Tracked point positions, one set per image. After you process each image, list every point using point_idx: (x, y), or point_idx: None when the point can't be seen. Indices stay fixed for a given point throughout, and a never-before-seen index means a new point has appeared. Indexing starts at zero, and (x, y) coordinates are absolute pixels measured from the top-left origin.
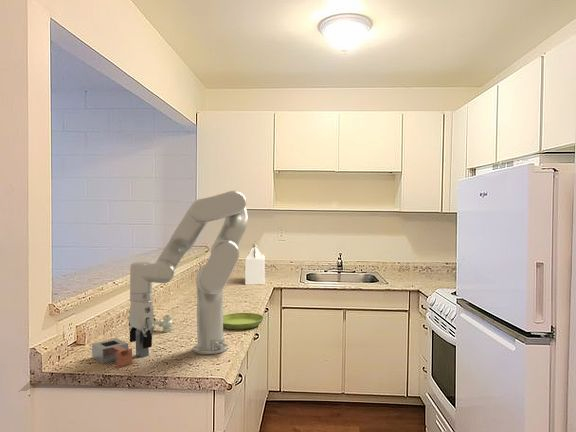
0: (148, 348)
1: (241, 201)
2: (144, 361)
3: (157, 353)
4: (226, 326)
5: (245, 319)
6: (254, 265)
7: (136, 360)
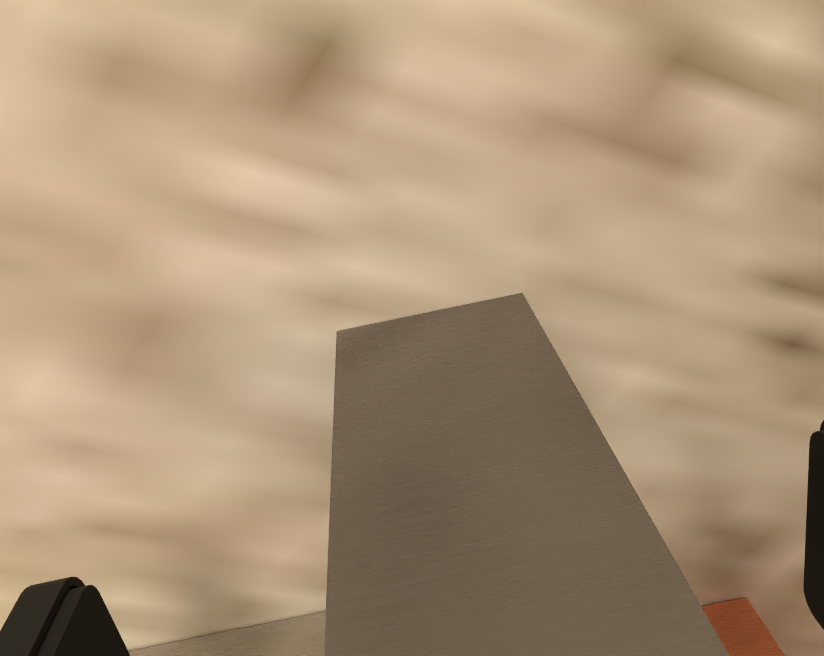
0: (560, 362)
1: None
2: (784, 432)
3: (512, 86)
4: None
5: None
6: None
7: None
